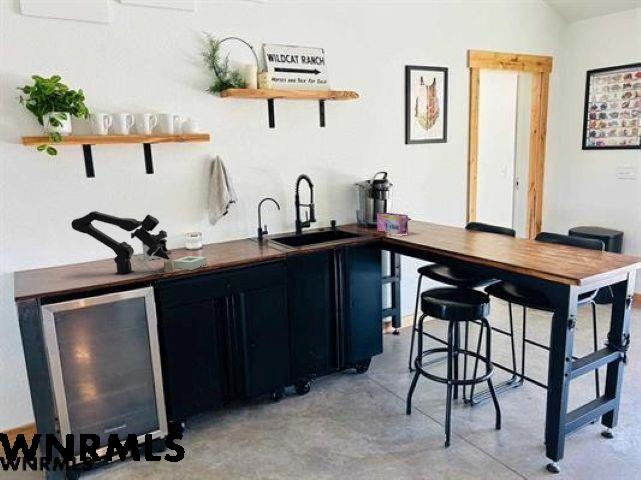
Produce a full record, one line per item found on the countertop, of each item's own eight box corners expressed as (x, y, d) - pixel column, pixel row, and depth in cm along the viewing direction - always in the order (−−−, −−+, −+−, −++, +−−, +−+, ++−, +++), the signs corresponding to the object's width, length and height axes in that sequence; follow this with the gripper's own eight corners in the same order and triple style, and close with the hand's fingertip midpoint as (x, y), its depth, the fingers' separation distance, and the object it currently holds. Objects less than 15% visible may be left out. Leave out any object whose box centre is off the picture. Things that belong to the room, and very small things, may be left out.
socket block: (192, 269, 250) (191, 262, 249) (173, 268, 255) (173, 260, 254) (206, 264, 261) (206, 257, 260) (188, 263, 266) (188, 256, 265)
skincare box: (158, 257, 285) (155, 232, 282) (160, 259, 280) (157, 233, 277) (143, 259, 281) (140, 233, 278) (145, 261, 276) (142, 235, 273)
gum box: (410, 235, 323) (409, 215, 321) (401, 237, 319) (401, 216, 316) (385, 231, 343) (385, 212, 340) (377, 232, 338) (376, 213, 336)
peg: (169, 272, 247) (167, 252, 245) (162, 271, 249) (160, 252, 247) (174, 270, 251) (173, 251, 249) (168, 269, 253) (166, 250, 251)
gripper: (150, 228, 236) (176, 250, 239) (161, 223, 255) (184, 243, 257) (136, 245, 238) (161, 266, 240) (147, 239, 256) (171, 258, 258)
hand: (170, 258), depth 249 cm, fingers closed on peg, 4 cm apart
